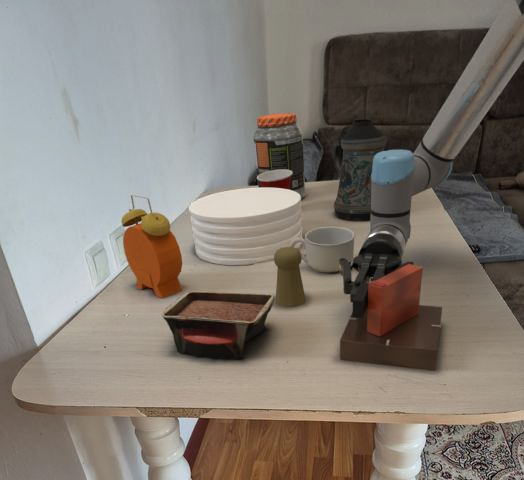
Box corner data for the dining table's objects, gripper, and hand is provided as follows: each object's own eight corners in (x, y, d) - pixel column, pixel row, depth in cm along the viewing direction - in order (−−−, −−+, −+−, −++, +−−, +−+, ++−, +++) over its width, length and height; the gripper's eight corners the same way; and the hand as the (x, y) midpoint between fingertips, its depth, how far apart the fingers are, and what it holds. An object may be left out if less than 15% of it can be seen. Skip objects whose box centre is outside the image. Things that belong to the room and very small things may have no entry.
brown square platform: (440, 327, 82) (443, 305, 79) (435, 374, 70) (438, 349, 68) (356, 320, 86) (356, 299, 84) (339, 362, 75) (339, 339, 73)
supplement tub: (308, 192, 169) (305, 110, 156) (301, 204, 156) (297, 116, 143) (264, 193, 173) (258, 114, 160) (254, 205, 160) (246, 120, 147)
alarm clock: (189, 290, 104) (172, 196, 94) (165, 300, 101) (145, 204, 91) (154, 277, 113) (135, 189, 103) (131, 286, 109) (110, 196, 99)
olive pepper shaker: (278, 296, 98) (274, 243, 92) (307, 296, 97) (305, 243, 91) (272, 309, 93) (268, 255, 87) (303, 309, 92) (301, 254, 86)
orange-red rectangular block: (405, 309, 80) (409, 262, 75) (418, 313, 78) (423, 265, 74) (366, 331, 74) (368, 282, 70) (379, 337, 73) (382, 286, 69)
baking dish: (206, 326, 93) (189, 280, 88) (291, 324, 86) (277, 273, 80) (168, 371, 83) (146, 322, 78) (261, 373, 75) (243, 318, 70)
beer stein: (379, 225, 131) (383, 124, 118) (315, 220, 140) (312, 126, 127) (399, 209, 143) (405, 115, 130) (338, 204, 152) (338, 117, 139)
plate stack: (175, 260, 121) (166, 214, 116) (228, 226, 143) (223, 186, 137) (276, 269, 110) (272, 220, 104) (318, 231, 131) (316, 188, 125)
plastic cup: (252, 215, 150) (248, 175, 144) (277, 206, 156) (274, 168, 150) (277, 220, 143) (274, 178, 137) (302, 211, 149) (300, 171, 143)
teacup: (355, 259, 111) (356, 225, 107) (352, 278, 102) (353, 242, 98) (296, 259, 114) (294, 226, 110) (288, 278, 106) (285, 242, 101)
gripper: (417, 273, 89) (402, 335, 70) (346, 269, 93) (315, 327, 75) (420, 233, 85) (405, 288, 66) (346, 231, 89) (313, 282, 71)
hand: (357, 309), depth 70 cm, fingers closed
